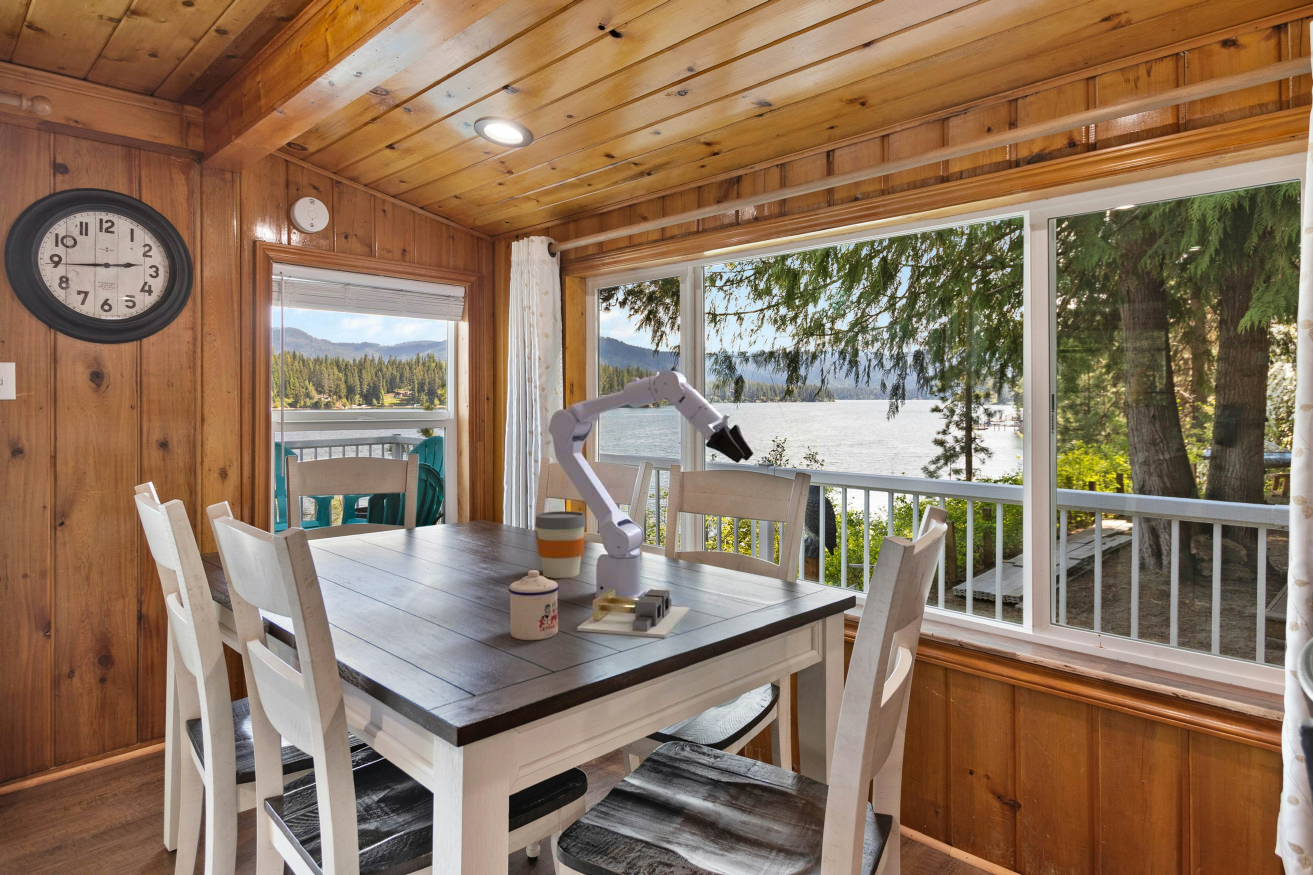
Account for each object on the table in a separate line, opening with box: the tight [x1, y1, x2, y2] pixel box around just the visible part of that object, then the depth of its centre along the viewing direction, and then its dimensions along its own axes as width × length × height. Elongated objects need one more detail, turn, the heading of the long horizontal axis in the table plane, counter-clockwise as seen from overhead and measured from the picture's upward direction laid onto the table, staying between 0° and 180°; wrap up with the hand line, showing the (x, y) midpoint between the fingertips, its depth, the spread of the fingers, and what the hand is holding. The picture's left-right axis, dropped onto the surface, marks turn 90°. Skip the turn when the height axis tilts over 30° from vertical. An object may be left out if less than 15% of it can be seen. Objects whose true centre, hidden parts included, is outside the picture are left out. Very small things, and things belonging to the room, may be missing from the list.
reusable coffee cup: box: [534, 510, 587, 579], centre depth 187 cm, size 13×13×15 cm
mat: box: [576, 605, 690, 639], centre depth 146 cm, size 17×19×1 cm
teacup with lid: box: [508, 569, 560, 641], centre depth 139 cm, size 12×9×12 cm
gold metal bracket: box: [592, 589, 640, 620], centre depth 147 cm, size 8×10×4 cm
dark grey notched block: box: [643, 588, 672, 618], centre depth 150 cm, size 4×8×4 cm, turn 164°
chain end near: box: [633, 595, 662, 632], centre depth 141 cm, size 4×8×4 cm, turn 164°
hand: (745, 458), depth 155 cm, fingers open, 7 cm apart
